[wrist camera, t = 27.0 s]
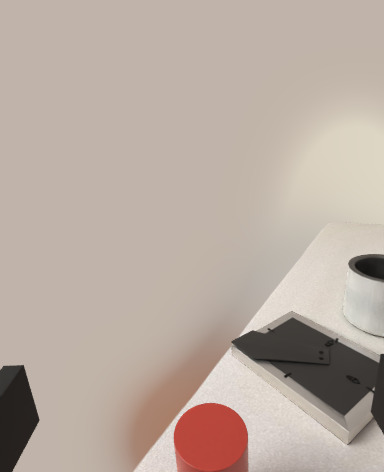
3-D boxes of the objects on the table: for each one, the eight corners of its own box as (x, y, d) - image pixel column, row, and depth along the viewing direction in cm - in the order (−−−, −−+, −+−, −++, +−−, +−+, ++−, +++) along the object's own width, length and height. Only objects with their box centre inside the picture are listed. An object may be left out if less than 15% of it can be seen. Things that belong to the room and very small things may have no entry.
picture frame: (231, 355, 55) (347, 445, 39) (231, 341, 54) (349, 427, 38) (291, 319, 63) (407, 382, 47) (291, 307, 62) (410, 366, 46)
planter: (372, 346, 55) (380, 288, 51) (329, 307, 66) (333, 258, 63) (436, 334, 56) (448, 277, 53) (383, 298, 68) (390, 250, 64)
